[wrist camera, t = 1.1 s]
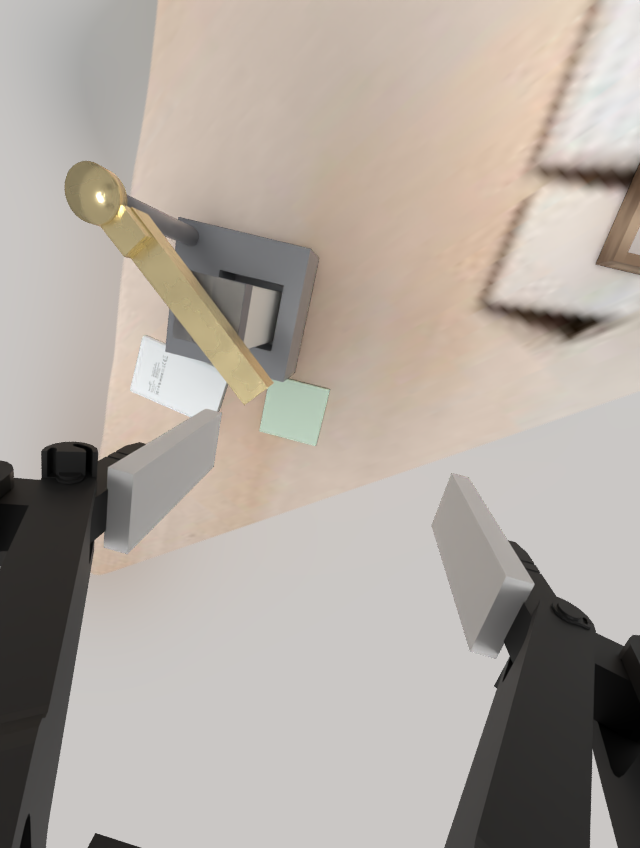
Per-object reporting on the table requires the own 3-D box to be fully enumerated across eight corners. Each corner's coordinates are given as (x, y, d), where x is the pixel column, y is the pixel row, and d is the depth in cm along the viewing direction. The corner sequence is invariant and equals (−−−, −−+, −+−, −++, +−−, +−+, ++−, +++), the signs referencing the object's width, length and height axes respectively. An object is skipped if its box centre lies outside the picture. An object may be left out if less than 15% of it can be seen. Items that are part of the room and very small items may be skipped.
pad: (271, 374, 48) (270, 374, 48) (330, 389, 48) (329, 390, 47) (260, 429, 51) (259, 431, 50) (316, 444, 50) (315, 446, 50)
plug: (240, 281, 43) (178, 267, 29) (285, 293, 43) (246, 283, 29) (233, 329, 45) (171, 337, 31) (276, 340, 45) (235, 353, 31)
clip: (91, 202, 28) (54, 187, 24) (123, 168, 27) (88, 147, 23) (246, 403, 31) (232, 414, 27) (279, 378, 30) (268, 387, 26)
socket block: (206, 231, 44) (86, 170, 25) (319, 258, 43) (282, 217, 24) (192, 346, 48) (80, 368, 29) (294, 372, 48) (247, 412, 29)
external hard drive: (216, 424, 52) (135, 389, 52) (233, 371, 49) (149, 334, 49) (211, 427, 51) (128, 391, 50) (229, 373, 48) (142, 335, 48)
